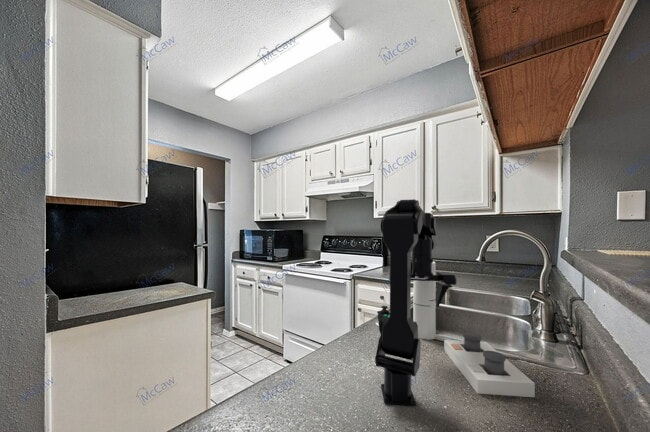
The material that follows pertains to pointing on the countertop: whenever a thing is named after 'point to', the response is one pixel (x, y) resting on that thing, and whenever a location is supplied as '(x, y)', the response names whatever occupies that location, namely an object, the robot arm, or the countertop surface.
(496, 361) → the near button
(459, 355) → the panel
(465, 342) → the far button
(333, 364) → the countertop surface
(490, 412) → the countertop surface
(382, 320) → the controller
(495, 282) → the countertop surface
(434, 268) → the cylindrical container
